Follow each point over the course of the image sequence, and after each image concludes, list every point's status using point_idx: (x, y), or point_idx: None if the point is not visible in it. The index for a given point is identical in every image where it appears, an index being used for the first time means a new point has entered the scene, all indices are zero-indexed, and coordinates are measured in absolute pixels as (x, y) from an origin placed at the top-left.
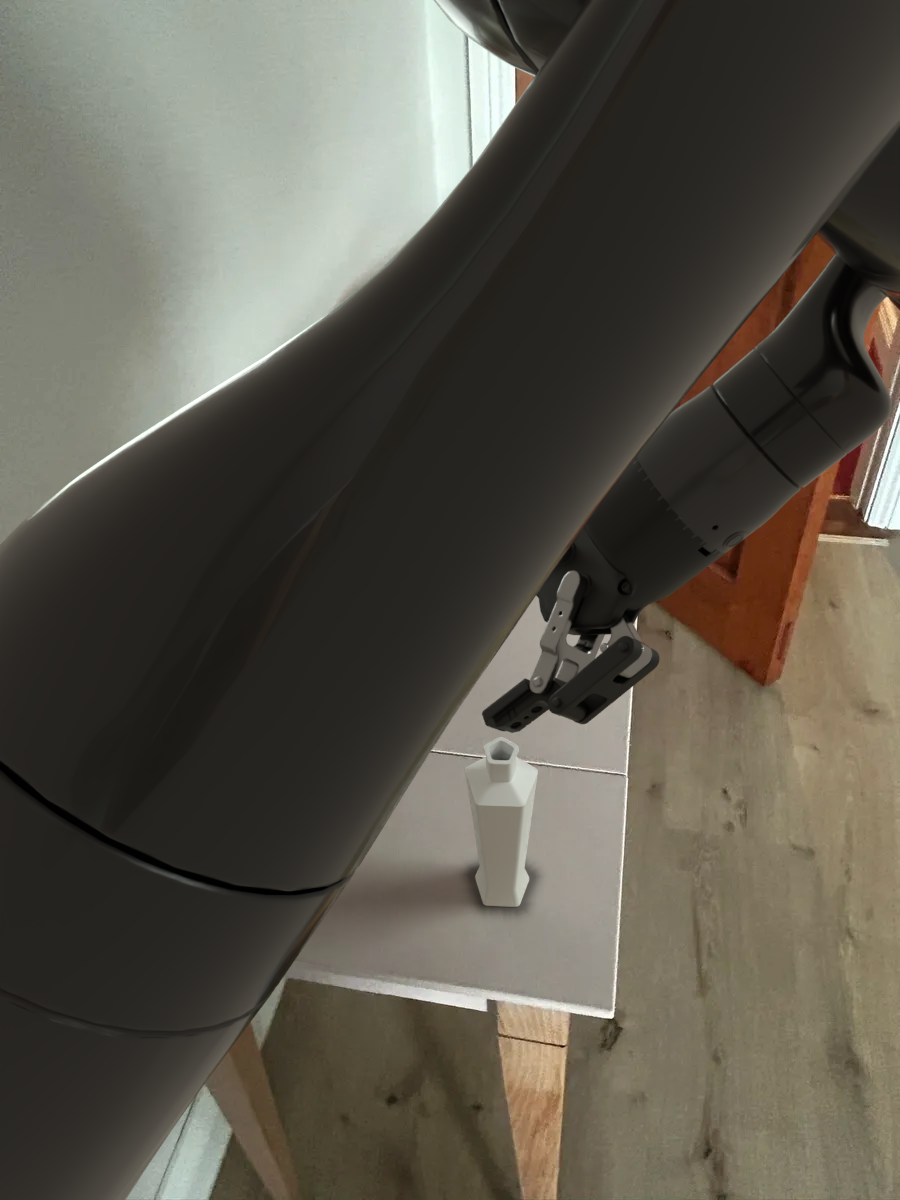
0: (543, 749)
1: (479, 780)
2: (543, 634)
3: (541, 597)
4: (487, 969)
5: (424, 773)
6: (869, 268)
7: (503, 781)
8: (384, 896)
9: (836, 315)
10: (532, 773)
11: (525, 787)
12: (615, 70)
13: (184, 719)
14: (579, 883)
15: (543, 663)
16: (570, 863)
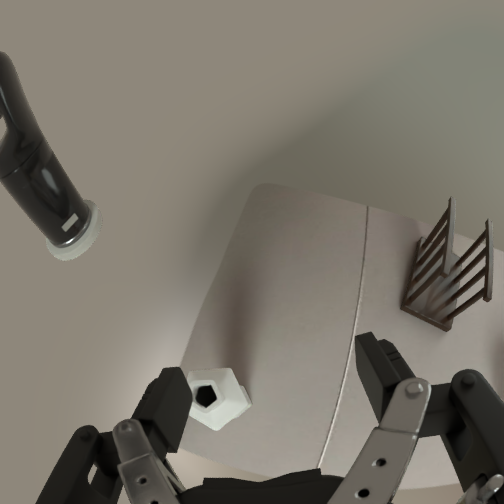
0: (340, 439)
1: (208, 377)
2: (152, 462)
3: (253, 488)
4: None
5: (328, 358)
6: None
7: (196, 396)
8: (237, 329)
9: None
10: (210, 424)
11: (196, 415)
12: None
13: None
14: (227, 446)
15: (137, 446)
16: (242, 445)
